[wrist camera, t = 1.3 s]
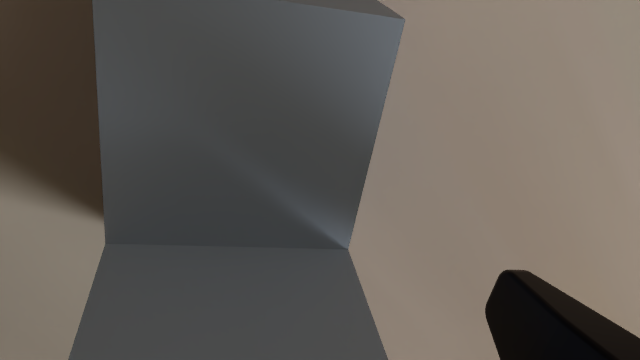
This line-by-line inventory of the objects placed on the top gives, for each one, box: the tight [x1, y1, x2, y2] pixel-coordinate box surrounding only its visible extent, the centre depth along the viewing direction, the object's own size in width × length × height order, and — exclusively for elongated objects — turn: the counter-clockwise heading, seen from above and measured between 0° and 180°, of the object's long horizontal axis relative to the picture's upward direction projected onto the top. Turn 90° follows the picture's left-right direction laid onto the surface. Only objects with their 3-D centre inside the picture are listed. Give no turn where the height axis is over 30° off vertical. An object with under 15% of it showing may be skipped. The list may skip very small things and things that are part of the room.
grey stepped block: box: [68, 0, 405, 360], centre depth 7 cm, size 6×4×7 cm, turn 170°
